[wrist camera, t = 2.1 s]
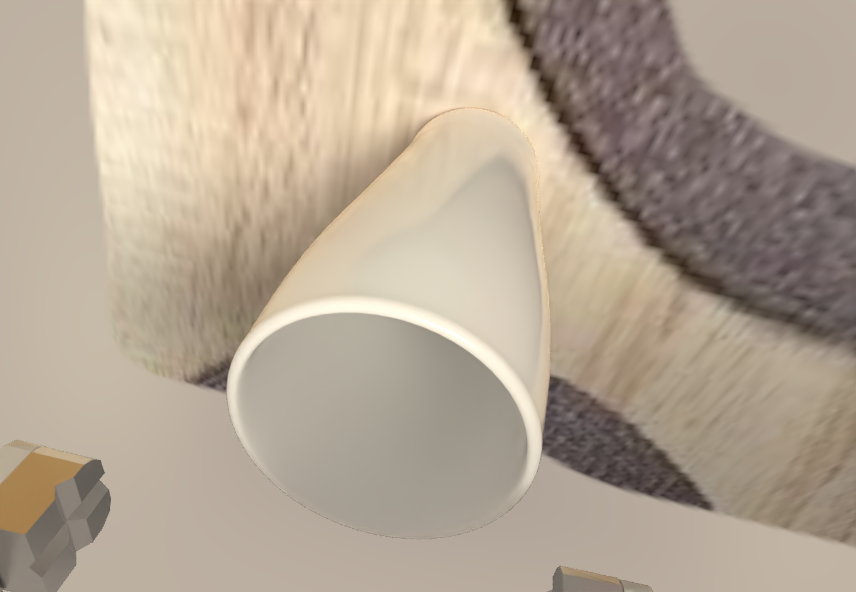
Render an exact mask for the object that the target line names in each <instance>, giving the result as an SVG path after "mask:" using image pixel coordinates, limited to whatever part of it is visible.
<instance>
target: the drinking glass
mask: <svg viewBox="0 0 856 592" xmlns="http://www.w3.org/2000/svg"><path fill="white" fill-rule="evenodd" d="M538 186H539V167H538V161H537V157H536V154H535V151H534V149H533V147H532V145H531V143H530V141H529V140H528V138H527V137H526V135H525V134H524V133H523V132H522V131H521V129H520V128H519V127H517V126H516V125H515V124H514V123H513V122H511V121H510V120H509V119H507V118H505V117H504V116H502V115H500V114H497V113H495V112H492V111H489V110H485V109H479V108H461V109H455V110H452V111H448V112H446V113H443V114H441V115H439V116H437V117H435V118H434V119H432V120H431V121H430V122H428V123H427V124H426V125H425V126H424V127H423V128H422V129H421V130H420V131H419V132H418V133H417V134H416V136H415V137H414V139H413V140H412V142H411V143H410V145H409V146H408V147H407V148H406V149H405V150H404V151H403V152H402V153H401V154H400V155H399V156H398V157H397V158H396V159H395V160H394V161H393V162H392V163H391V164H390V165H389V166H388V167H387V168H386V169H385V170H384V171H383V172H382V173H381V174H380V175H379V176H378V177H377V178H376V179H375V180H374V181H373V182H372V183H371V184H370V185H369V186H368V187H367V188H366V189H365V190H364V191H363V192H362V193H361V194H360V195H359V196H358V197H357V198H356V199H355V200H353V201H352V202H351V203H350V204H349V205H348V206H347V207H346V208H345V209H344V210H343V211H342V212H341V213H340V214H339V215H338V216H337V217H336V218H335V219H334V220H333V221H332V222H331V223H330V224H329V225H328V226H327V227H326V228H325V229H324V230H323V231H322V233H321V234H320V235H319V236H318V237H317V238H316V239H315V240H314V241H313V243H312V244H311V245H310V246H309V247H308V249H307V250H306V251H305V252H304V253H303V255H302V256H301V257H300V258H299V260H298V261H297V262H296V264H295V265H294V266H293V267H292V269H291V270H290V271H289V273H288V274H287V275H286V277H285V278H284V279H283V281H282V282H281V283H280V285H279V286H278V288H277V289H276V291H275V292H274V293H273V295H272V296H271V298H270V299H269V301H268V302H267V304H266V305H265V307H264V309H263V310H262V312H261V313H260V315H259V316H258V318H257V320H256V321H255V323H254V324H253V326H252V328H251V329H250V331H249V332H248V334H247V336H246V337H245V338H244V340H243V341H242V343H241V344H240V346H239V348H238V349H237V351H236V353H235V355H234V358H233V360H232V362H231V365H230V369H229V373H228V379H227V404H228V411H229V414H230V418H231V422H232V425H233V427H234V430H235V433H236V435H237V437H238V439H239V440H240V442H241V444H242V446H243V448H244V449H245V451H246V452H247V454H248V455H249V457H250V458H251V459H252V461H253V462H254V464H255V465H256V466H257V467H258V468H259V469H260V471H261V472H262V473H263V474H264V475H265V476H266V477H267V478H268V479H269V480H270V481H271V482H272V483H273V484H274V485H276V486H277V487H278V488H279V489H280V490H282V491H283V492H284V493H285V494H287V495H288V496H290V497H291V498H292V499H293V500H295V501H297V502H298V503H300V504H301V505H303V506H304V507H306V508H308V509H310V510H311V511H313V512H315V513H317V514H319V515H321V516H323V517H325V518H327V519H329V520H332V521H334V522H336V523H339V524H341V525H344V526H347V527H350V528H353V529H356V530H360V531H363V532H367V533H372V534H375V535H380V536H386V537H394V538H403V539H432V538H443V537H448V536H454V535H459V534H462V533H466V532H470V531H473V530H475V529H478V528H481V527H483V526H485V525H487V524H489V523H491V522H493V521H495V520H496V519H498V518H500V517H501V516H503V515H504V514H505V513H507V512H508V511H509V510H511V509H512V508H513V507H514V506H515V505H516V504H517V503H518V502H519V501H520V500H521V499H522V497H523V496H524V495H525V494H526V492H527V491H528V489H529V487H530V486H531V484H532V482H533V480H534V478H535V475H536V473H537V471H538V467H539V464H540V460H541V453H542V441H543V434H544V426H545V418H546V409H547V400H548V391H549V378H550V358H551V326H550V305H549V294H548V284H547V276H546V267H545V258H544V249H543V240H542V230H541V220H540V210H539V199H538Z"/></svg>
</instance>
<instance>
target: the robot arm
mask: <svg viewBox="0 0 856 592" xmlns="http://www.w3.org/2000/svg"><path fill="white" fill-rule="evenodd" d="M104 473H105V472H104V469H103V466H102V463H101V460H97V459H93V458H89V457H85V456H81V455H77V454H72V453H68V452H64V451H60V450H56V449H52V448H48V447H45V446H41V445H37V444H32V443H28V442H24V441H19V440H15V441H13V442H11V443H9V444H7V445H5V446H3V448H1V450H0V592H3V591H2V590H6V591H11V592H57V591H58V589H59V588H60V587H61V585H62V584H63V582H64V581H65V580H66V578H67V577H68V576H69V574H70V573H71V571H72V570H73V569H74V567H75V566H76V551H78V550H80V549H81V548H83V547H85V546H87V545H88V544H90V543H92V542H93V541H94V540H95V538H96V537H97V535H98V534H99V532H100V531H101V530H102V528H103V526H104V524H105V521H106V519H107V516H108V514H109V511H110V502H111V497H110V493H109V489H108V488H107V487H106V486H105V485H104V484H103V483H102V482H101V481H100V480H99V479H100V478H101V477H102V475H103V474H104ZM549 592H653V591H652V589H651V587H649V586H647V585H643V584H638V583H634V582H628V581H624V580H619V579H618V578H615V577H611V576H606V575H601V574H596V573H592V572H587V571H582V570H577V569H573V568H568V567H563V566H559V567H558V568H557V569H556V571H555V573H554V576H553V590H551V591H549Z"/></svg>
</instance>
